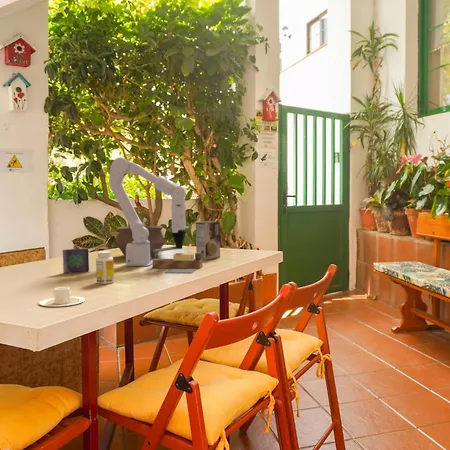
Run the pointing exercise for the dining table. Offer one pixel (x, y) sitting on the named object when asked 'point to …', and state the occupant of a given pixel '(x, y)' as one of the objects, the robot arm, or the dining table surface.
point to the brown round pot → (154, 238)
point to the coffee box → (208, 239)
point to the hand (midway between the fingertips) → (179, 248)
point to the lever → (162, 250)
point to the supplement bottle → (104, 268)
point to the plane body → (178, 263)
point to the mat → (180, 271)
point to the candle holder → (62, 297)
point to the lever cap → (183, 256)
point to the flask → (75, 260)
